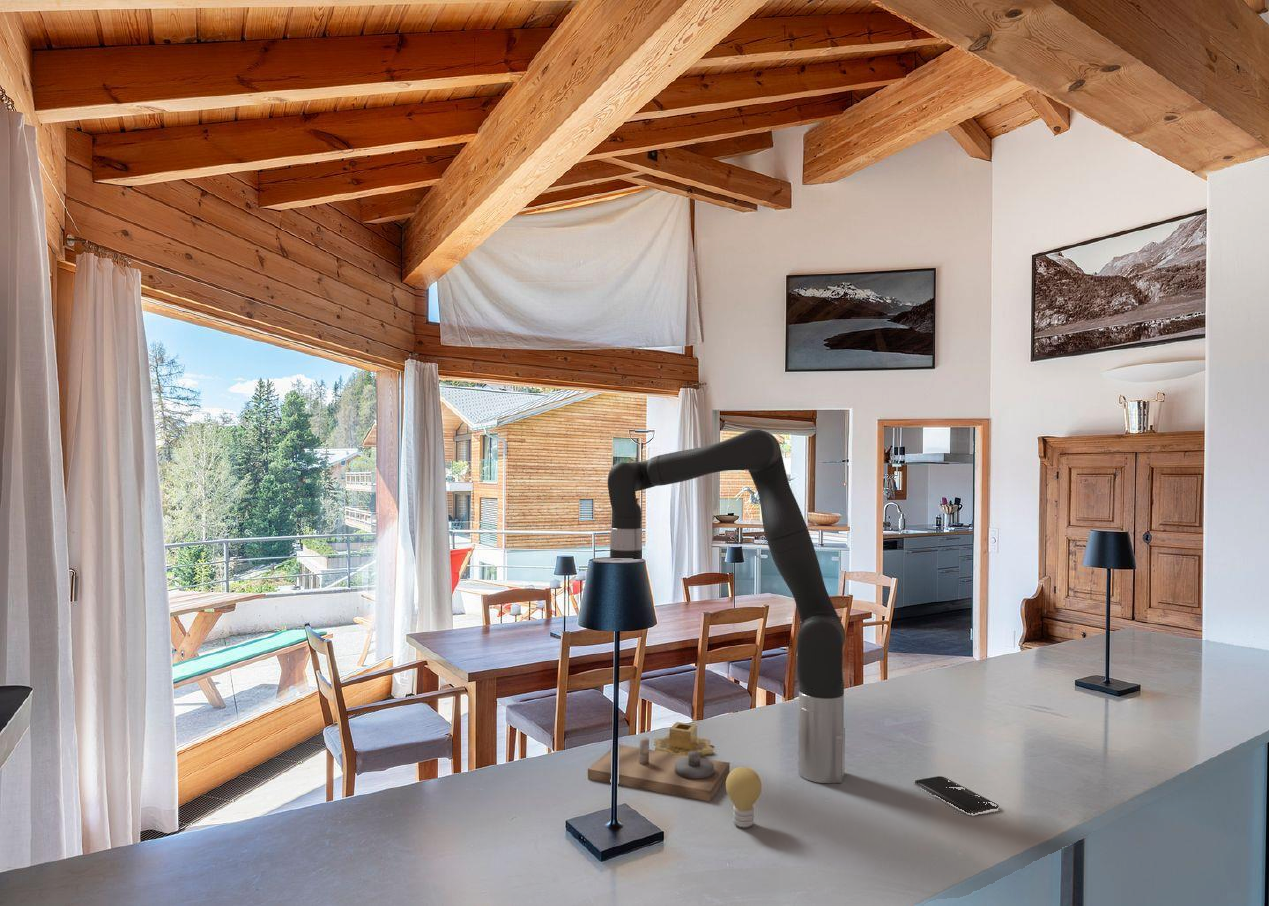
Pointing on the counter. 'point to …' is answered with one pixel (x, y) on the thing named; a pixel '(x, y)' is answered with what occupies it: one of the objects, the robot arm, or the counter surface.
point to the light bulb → (743, 794)
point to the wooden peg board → (663, 771)
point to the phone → (955, 794)
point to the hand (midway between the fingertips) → (625, 616)
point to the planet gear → (683, 741)
